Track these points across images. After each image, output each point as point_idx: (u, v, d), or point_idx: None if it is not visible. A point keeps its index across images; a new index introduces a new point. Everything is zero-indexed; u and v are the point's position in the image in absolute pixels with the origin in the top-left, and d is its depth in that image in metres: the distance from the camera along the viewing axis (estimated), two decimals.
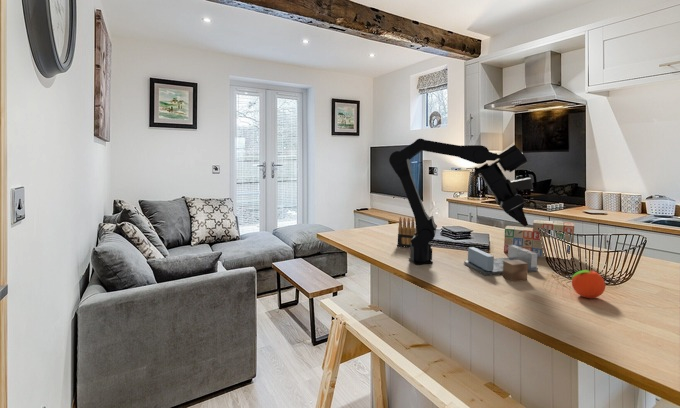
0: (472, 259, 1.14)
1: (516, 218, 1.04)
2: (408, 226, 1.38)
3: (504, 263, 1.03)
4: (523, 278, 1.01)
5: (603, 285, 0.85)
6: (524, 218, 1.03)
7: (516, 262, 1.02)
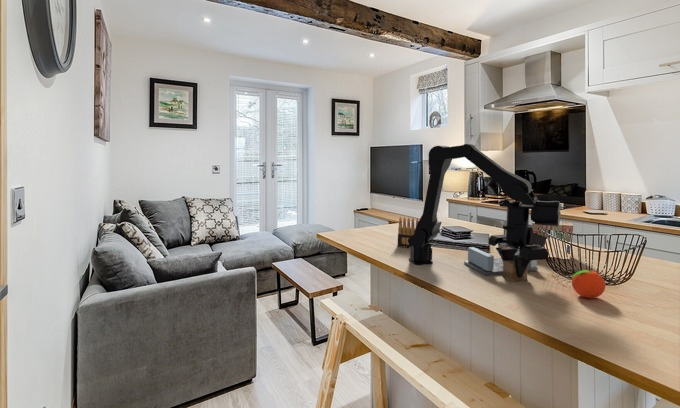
0: (472, 259, 1.14)
1: (519, 267, 0.98)
2: (408, 226, 1.38)
3: (504, 263, 1.03)
4: (523, 278, 1.01)
5: (603, 285, 0.85)
6: (524, 270, 0.99)
7: None
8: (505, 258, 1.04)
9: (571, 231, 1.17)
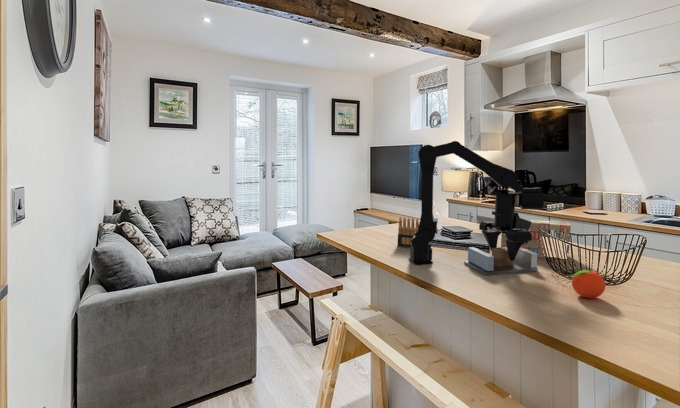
0: (472, 259, 1.14)
1: (511, 251, 1.06)
2: (408, 226, 1.38)
3: (493, 250, 1.13)
4: (510, 263, 1.11)
5: (603, 285, 0.85)
6: (516, 254, 1.07)
7: (504, 249, 1.12)
8: (489, 240, 1.16)
9: (569, 231, 1.18)
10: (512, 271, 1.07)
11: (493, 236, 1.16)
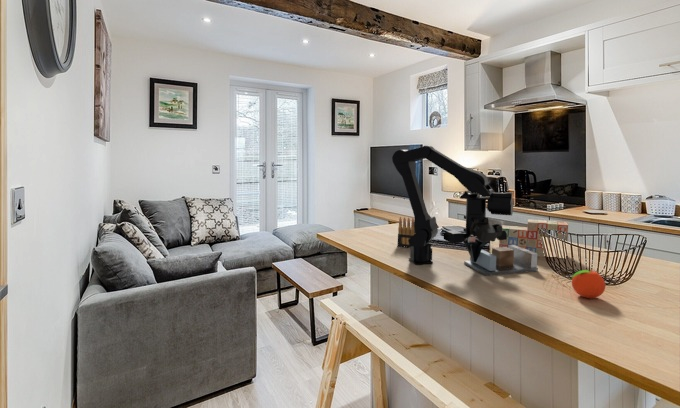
0: None
1: (468, 250, 1.11)
2: (408, 226, 1.38)
3: (493, 250, 1.13)
4: (510, 263, 1.11)
5: (603, 285, 0.85)
6: (472, 255, 1.09)
7: (504, 249, 1.12)
8: None
9: (566, 230, 1.19)
10: (512, 271, 1.07)
11: None
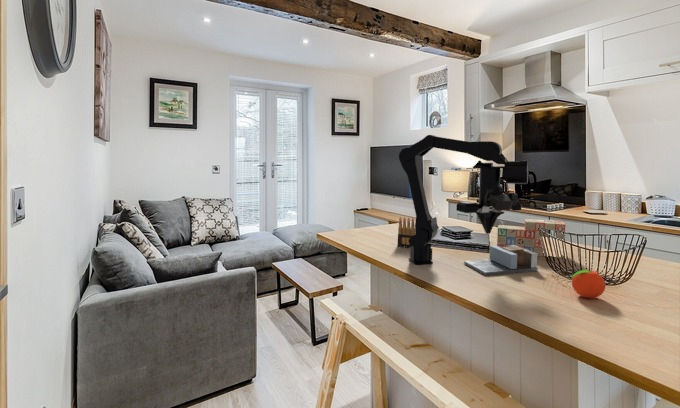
0: (494, 258, 1.15)
1: (481, 221, 1.08)
2: (408, 226, 1.38)
3: None
4: (519, 262, 1.12)
5: (603, 285, 0.85)
6: (486, 226, 1.07)
7: (513, 248, 1.12)
8: None
9: (563, 230, 1.20)
10: (512, 271, 1.07)
11: (489, 215, 1.07)
